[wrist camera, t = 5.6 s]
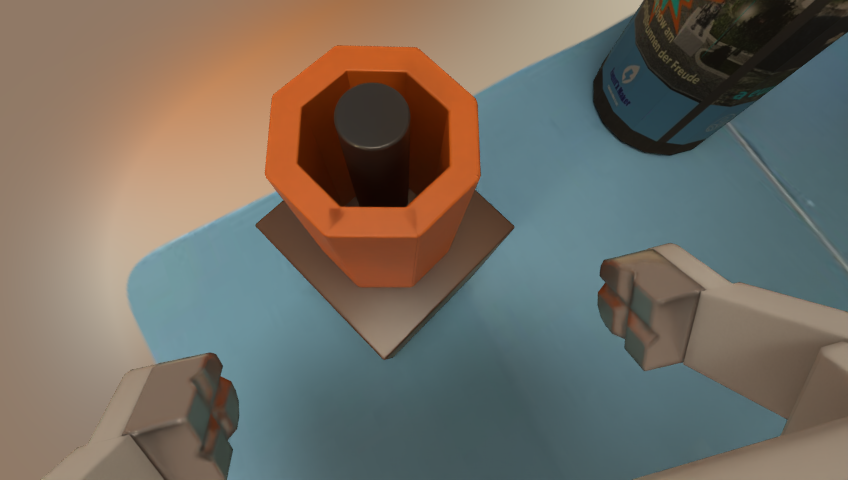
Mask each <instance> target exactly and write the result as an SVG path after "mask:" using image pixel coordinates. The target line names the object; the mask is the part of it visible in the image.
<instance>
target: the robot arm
mask: <svg viewBox="0 0 848 480" xmlns="http://www.w3.org/2000/svg"><path fill="white" fill-rule="evenodd" d="M600 277H601V278H602V279H603V280H604V281H605V284H604V285H603V286H602V288H601V289H600V291H599V292H598V308H599V312H600V316H601V318H602V320H603V322H604V324H605V326H606V327H607V328H608V329H609V330H610V332H611V333H612V334H614V335H617V336H619V337H621V338H624V339H625V346H624V348H625V350H626V351H627V352H628V353H629V354H630V355H631V357H632V358H633V359H634V360H635V361H636V362H637V364H638V365H639V366H640V367H641V368H642V369H643V371H648V370H652V369H656V368H660V367H665V366H669V365H673V364H677V363H682V362H684V363H683V364H684V365H686V366H688V367H690V368H691V369H693V370H695V371H697V372H699V373H701V374H703V375H705V376H707V377H708V378H710V379H712V380H714V381H716V382H718V383H720V384H722V385H724V386H725V387H727V388H729V389H731V390H733V391H735V392H737V393H739V394H740V395H742V396H744V397H746V398H748V399H750V400H752V401H754V402H756V403H757V404H759V405H761V406H763V407H765V408H767V409H769V410H771V411H773V412H774V413H776V414H778V415H780V416H782V417H784V418H786V419H788V420H787V422H786V425H785V427H784V429H783V431H782V433H781V435H780V436H779V437H775V438H772V439H769V440H765V441H762V442H758V443H755V444H752V445H748V446H745V447H741V448H738V449H734V450H731V451H728V452H724V453H721V454H717V455H714V456H711V457H707V458H704V459H700V460H697V461H693V462H690V463H687V464H683V465H680V466H676V467H673V468H670V469H666V470H663V471H659V472H656V473H653V474H649V475H646V476H642V477H639V478H635V479H632V480H848V312H846V311H843V310H839V309H835V308H832V307H828V306H824V305H821V304H817V303H813V302H810V301H806V300H802V299H799V298H795V297H791V296H788V295H784V294H781V293H777V292H773V291H770V290H766V289H762V288H759V287H755V286H751V285H748V284H744V283H740V282H738V283H734V284H732V283H730V282H729V281H728V280H726V279H725V278H723V277H722V276H721V275H719V274H718V273H716V272H715V271H713V270H712V269H711V268H709V267H708V266H706V265H705V264H704V263H702V262H701V261H699V260H698V259H697V258H695V257H694V256H692V255H691V254H689V253H688V252H687V251H685V250H684V249H682V248H681V247H680V246H678V245H676V244H672V243H668V244H664V245H660V246H656V247H653V248H649V249H647V250H643V251H639V252H635V253H631V254H627V255H622V256H618V257H614V258H610V259H606V260H604V261H603V263H602V265H601V268H600ZM222 368H223V365H222V363H221V362H220V360H219V358H218V357H217V355H216V354H214V353H205V354H200V355H196V356H191V357H186V358H182V359H177V360H172V361H168V362H163V363H158V364H156V365H151V366H146V367H142V368H137V369H132V370H130V371H129V372H128V373H126V374H125V375H124V377H123V378H122V380H121V382H120V384H119V386H118V387H117V389H116V391H115V393H114V395H113V397H112V399H111V401H110V403H109V405H108V406H107V408H106V410H105V412H104V414H103V416H102V418H101V420H100V421H99V423H98V425H97V427H96V429H95V431H94V433H93V435H92V437H91V439H90V440H89V442H88V444H87V445H85V446H81V447H78V448H76V449H75V450H74V451H73V452H72V453H71V454H70V455H68V456H67V457H66V458H65V459H64V460H63V461H61V462H60V463H59V464H58V465H57V466H56V467H55V468H53V469H52V470H51V471H50V472H49V473H48V474H46V476H44V477H43V478H42V479H41V480H227V477H228V472H229V467H230V462H231V457H232V452H233V449H232V447H231V445H230V443H229V442H228V439H229V438H230V437H231V436H232V434H233V433H234V432H235V431H236V430H237V427H238V421H239V400H238V397H237V393H236V390H235V388H234V386H233V384H232V382H231V381H229V380H227V379H225V378H223V377H221V372H222Z"/></svg>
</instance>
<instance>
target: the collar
mask: <svg viewBox="0 0 848 480" xmlns="http://www.w3.org/2000/svg"><path fill="white" fill-rule="evenodd" d="M363 83H381V84H385V85H388V86H390V87H392V88H393V89H395V90H396V91H398V92H399V93H400V94H401V95H402V96H403V97H404V99H405V100H406V102H407V104H408V106H409V109H410V116H411V121H410V155H409V188H410V189H411V190H412V191H413V192H414V193H415V194H416V195H417V197H416V198H415V199H414V200H413V201H412V202H411V203H410V204H408V205H407V206H406V207H344V206H345V205H346V204H348V203H349V202H350V201H351V200H352V199H353V198H354V197H355V196H356V194H355V191H354V188H353V184H352V181H351V178H350V174H349V171H348V168H347V164H346V161H345V158H344V154H343V151H342V148H341V144H340V141H339V138H338V134H337V131H336V128H335V124H334V111H335V107H336V105H337V103H338V101H339V99H340V98H341V97H342V95H343V94H344V93H345V92H346V91H348V90H349V89H351V88H352V87H354V86H357V85H359V84H363ZM265 176H266V178H267V179H268V180H269V182H270V183H271V184H272V186H273V187H274V188H275V190H276V191H277V192H278V193H279V195H280V196H281V197H282V199H283V200H284V201H285V202H286V204H287V205H288V206H289V208H290V209H291V210H292V212H293V213H294V214H295V215H296V217H297V218H298V219H299V221H300V222H301V223H302V224H303V226H304V227H305V228H306V230H307V231H308V232H309V233H310V235H311V236H312V237H313V239H314V240H315V241H316V242H317V244H318V245H319V246H320V248H321V249H322V250H323V251H324V252H325V253H326V254H327V255H328V256H329V258H330V259H331V260H332V261H333V262H334V263H335V264H336V265H337V266H338V267H339V268H340V269H341V270H342V271H343V272H344V273H345V274H346V275H347V276H348V277H349V278H350V279H351V280H352V281H353V282H354V283H355V284H356V285H357V286H359V287H412V286H414V285H415V284H416V283H417V282H418V281H419V280H420V279H421V278H422V277H423V276H424V275H425V274H426V273H427V272H428V271H429V270H430V269H431V268H432V267H433V266H434V265H435V264H436V263H437V262H438V261H439V260H440V259H441V258H442V257H443V256H444V255H445V254H446V253H447V252H448V251H449V249H450V246H451V244H452V242H453V239H454V237H455V235H456V232H457V230H458V228H459V225H460V223H461V221H462V218H463V216H464V214H465V211H466V209H467V207H468V204H469V202H470V200H471V198H472V195H473V193H474V191H475V188H476V186H477V184H478V181H479V179H480V176H481V172H480V148H479V124H478V104H477V101H476V99H475V98H474V97H473V96H472V95H471V94H470V93H469V92H467V91H466V90H465V89H464V88H463V87H462V86H460V84H458V83H457V82H456V81H455V80H454V79H452V78H451V77H450V76H449V75H448V74H447V73H446V72H445V71H444V70H442V69H441V68H440V67H439V66H438V65H437V64H436V63H434V62H433V61H432V60H431V59H430V58H429V57H428V56H426V55H425V54H424V53H423V52H422V51H421V50H420V49H418V48H415V47H380V46H342V45H337V46H335V47H333V48H332V49H331V50H329V51H328V52H327V53H326V54H324V55H323V56H322V57H320V58H319V59H318V60H317V61H315V62H314V63H313V64H312V65H310V66H309V67H308V68H306V69H305V70H304V71H303V72H301V73H300V74H299V75H297V76H296V77H295V78H294V79H292V80H291V81H290V82H289V83H287V84H286V85H285V86H283V87H282V88H281V89H280V90H278V91H277V92H276V93H275V94H273V96H272V102H271V113H270V124H269V134H268V145H267V156H266V166H265Z"/></svg>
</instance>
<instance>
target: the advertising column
mask: <svg viewBox="0 0 848 480" xmlns="http://www.w3.org/2000/svg"><path fill="white" fill-rule="evenodd" d="M847 32H848V0H644V1H643V2H642V4H641V6H640V7H639V8H638V10H637V12H636V13H635V15H634V16H633V18H632V19H631V21H630V22H629V24H628V25H627V27H626V28H625V30H624V31H623V33H622V34H621V36H620V37H619V39H618V40H617V42H616V44H615V45H614V47H613V48H612V50H611V51H610V53H609V54H608V56H607V57H606V59H605V60H604V62H603V63H602V65H601V67H600V69H599V71H598V73H597V75H596V77H595V79H594V103H595V105H596V108H597V110H598V112H599V114H600V116H601V119H602V121H603V123H604V124H605V125H606V126H607V127H608V128H609V129H610V130H611V131H612V132H613V133H614V134H615V135H616V136H617V137H618V138H619V139H620V140H621V141H623V142H625V143H627V144H629V145H631V146H633V147H635V148H637V149H639V150H642V151H644V152H648V153H656V154H665V155H672V154H676V153H680V152H684V151H687V150H691V149H693V148H695V147H696V146H697V145H699V144H700V143H701V142H703V141H704V140H705V139H707V138H708V137H709V136H711V135H712V134H713V133H714V132H716V131H717V130H718V129H720V128H721V127H722V126H724V125H725V124H726V123H728V122H729V121H730V120H732V119H733V118H734V117H736V116H737V115H738V114H740V113H741V112H742V111H744V110H745V109H746V108H748V107H749V106H750V105H751V104H753V103H754V102H755V101H757V100H758V99H759V98H761V97H762V96H763V95H765V94H766V93H767V92H769V91H770V90H771V89H773V88H774V87H775V86H777V85H778V84H779V83H781V82H782V81H783V80H785V79H786V78H787V77H788V76H790V75H791V74H792V73H794V72H795V71H796V70H798V69H799V68H800V67H802V66H803V65H804V64H806V63H807V62H808V61H810V60H811V59H812V58H814V57H815V56H816V55H818V54H819V53H820V52H822V51H823V50H824V49H826V48H827V47H828V46H829V45H831V44H832V43H833V42H835V41H836V40H837V39H839V38H840V37H841V36H843V35H844V34H845V33H847Z"/></svg>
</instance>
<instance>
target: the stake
mask: <svg viewBox="0 0 848 480" xmlns="http://www.w3.org/2000/svg"><path fill="white" fill-rule="evenodd" d="M410 121H411V116H410V109H409V106H408V104H407V102H406V100H405V99H404V97H403V96H402V95H401V94H400V93H399V92H398V91H396V90H395V89H393V88H392V87H390V86H388V85H385V84H381V83H363V84H359V85H357V86H354V87H352V88H351V89H349V90H348V91H346V92H345V93H344V94H343V95H342V97H341V98H340V99H339V101H338V103H337V105H336V107H335V111H334V124H335V128H336V131H337V134H338V138H339V141H340V144H341V148H342V151H343V154H344V158H345V161H346V164H347V168H348V171H349V174H350V178H351V181H352V184H353V188H354V191H355V194H356V196H355V197H354V198H353V199H352V200H351V201H350V202H349V203H348V204H346V205H345V206H344V207H406V206H407V205H408V204H410V203H411V202H412V201H413V200H414V199H415V198H416V197H417V195H416V194H415V193H414V192H413V191H412V190H411V189H410V188H409V155H410ZM256 227H257V228H258V229H259V230H260V231H261V232H262V233H263V234H264V235H265V236H266V238H267V239H268V240H269V241H270V242H271V243H272V244H273V245H274V246H275V247H276V248H277V249H278V250H279V251H280V252H281V253H282V254H283V255H284V256H285V257H286V258H287V259H288V261H289V262H290V263H291V264H292V265H293V266H294V267H295V268H296V269H297V270H298V271H299V272H300V273H301V274H302V275H303V276H304V277H305V278H306V279H307V280H308V281H309V283H310V284H311V285H312V286H313V287H314V288H315V289H316V290H317V291H318V292H319V293H320V294H321V295H322V296H323V297H324V298H325V299H326V300H327V301H328V302H329V303H330V304H331V306H332V307H333V308H334V309H335V310H336V311H337V312H338V313H339V314H340V315H341V316H342V317H343V318H344V319H345V320H346V321H347V322H348V323H349V324H350V325H351V326H352V327H353V329H354V330H355V331H356V332H357V333H358V334H359V335H360V336H361V337H362V338H363V339H364V340H365V341H366V342H367V343H368V344H369V345H370V346H371V347H372V348H373V349H374V350H375V352H376V353H377V354H378V355H379V356H380V357H381V358H382V359H383V360H386V359H390V358H393V357H394V356H395V355H396V354H397V353H398V352H399V351H400V350H401V349H402V348H403V347H404V346H405V345H406V344H407V343H408V342H409V341H410V340H411V339H412V338H413V337H414V335H415V334H416V333H417V332H418V331H419V330H420V329H421V328H422V327H423V326H424V325H425V324H426V323H427V322H428V321H429V320H430V319H431V318H432V317H433V316H434V315H435V314H436V313H437V312H438V311H439V310H440V309H441V308H442V307H443V306H444V305H445V304H446V303H447V302H448V301H449V300H450V299H451V297H452V296H453V295H454V294H455V293H456V292H457V291H458V290H459V289H460V288H461V287H462V286H463V285H464V284H465V283H466V282H467V281H468V280H469V279H470V278H471V277H472V276H473V275H474V274H475V272H476V271H477V270H478V269H479V268H480V267H481V266H482V264H483V263H484V262H485V261H486V260H487V259H488V258H489V256H490V255H491V254H492V253H493V252H494V251H495V250H496V248H497V247H498V246H499V245H500V244H501V243H502V242H503V240H504V239H505V238H506V237H507V236H508V235H509V234H510V232H511V231H512V230H513V229H514V225H513V224H511V223H510V222H509V221H508V220H507V219H506V218H505V217H504V216H503V215H502V214H501V213H500V212H498V211H497V210H496V209H495V208H494V207H493V206H492V205H491V204H490V203H489V202H488V201H487V200H485V199H484V198H483V197H482V196H481V195H480V194H479V193H478V192H477V191H476V190H475V191H474V193H473V195H472V198H471V200H470V202H469V204H468V207H467V209H466V211H465V214H464V216H463V218H462V221H461V223H460V225H459V228H458V230H457V232H456V235H455V237H454V239H453V242H452V244H451V246H450V249H449V251H448V252H447V253H446V254H445V255H444V256H443V257H442V258H441V259H440V260H439V261H438V262H437V263H436V264H435V265H434V266H433V267H432V268H431V269H430V270H429V271H428V272H427V273H426V274H425V275H424V276H423V277H422V278H421V279H420V280H419V281H418V282H417V283H416V284H415V285H414V286H412V287H359V286H357V285H356V284H355V283H354V282H353V281H352V280H351V279H350V278H349V277H348V276H347V275H346V274H345V273H344V272H343V271H342V270H341V269H340V268H339V267H338V266H337V265H336V264H335V263H334V262H333V261H332V260H331V259H330V258H329V256H328V255H327V254H326V253H325V252H324V251H323V250H322V249H321V248H320V246H319V245H318V244H317V242H316V241H315V240H314V239H313V237H312V236H311V235H310V233H309V232H308V231H307V230H306V228H305V227H304V226H303V224H302V223H301V222H300V221H299V219H298V218H297V217H296V215H295V214H294V213H293V212H292V210H291V209H290V208H289V206H288V205H287V204H286V202H285V201H284V200H283V201H282V202H281V203H280V204H279V205H278V206H276V207H275V208H274V209H273V210H272V211H271V212H269V213H268V214H267V215H266V216H265V217H264V218H262V219H261V220H260V221H259V222H258V223H257V224H256Z"/></svg>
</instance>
